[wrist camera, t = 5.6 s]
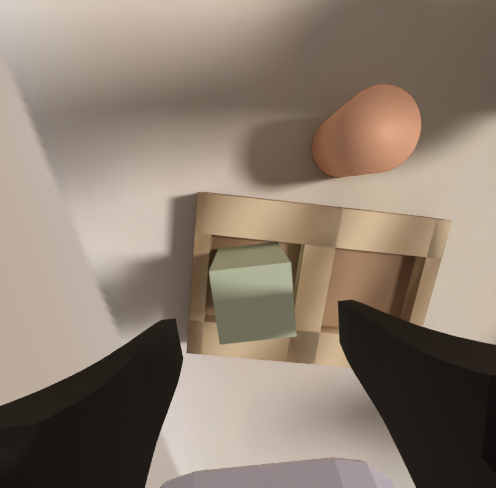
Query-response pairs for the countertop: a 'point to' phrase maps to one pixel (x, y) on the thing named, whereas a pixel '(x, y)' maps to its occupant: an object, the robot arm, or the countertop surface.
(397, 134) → the terracotta dowel
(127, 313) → the countertop surface
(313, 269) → the pocket board
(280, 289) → the sage cube
